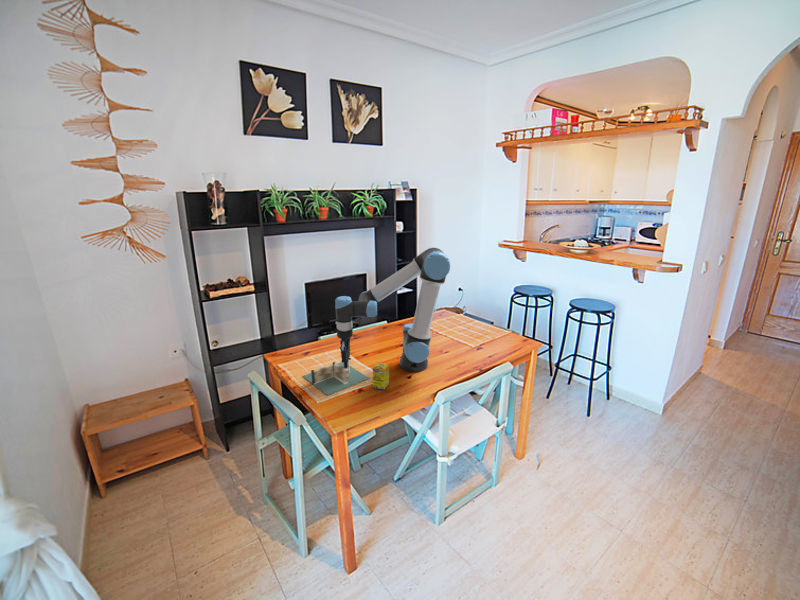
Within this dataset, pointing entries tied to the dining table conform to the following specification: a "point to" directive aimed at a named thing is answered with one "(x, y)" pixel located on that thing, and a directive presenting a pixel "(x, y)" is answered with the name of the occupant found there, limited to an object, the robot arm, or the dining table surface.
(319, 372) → the fixed rail
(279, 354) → the dining table surface
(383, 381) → the supplement box
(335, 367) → the hinged gate
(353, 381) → the board
